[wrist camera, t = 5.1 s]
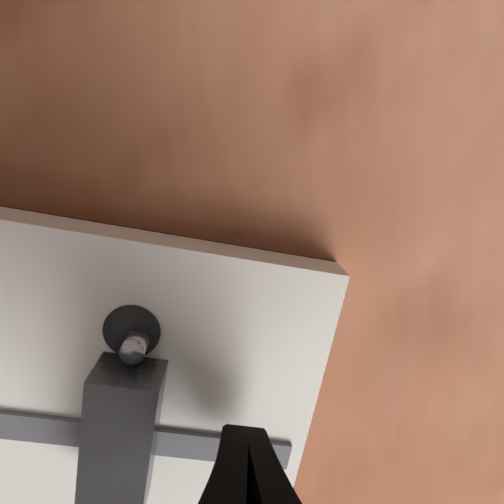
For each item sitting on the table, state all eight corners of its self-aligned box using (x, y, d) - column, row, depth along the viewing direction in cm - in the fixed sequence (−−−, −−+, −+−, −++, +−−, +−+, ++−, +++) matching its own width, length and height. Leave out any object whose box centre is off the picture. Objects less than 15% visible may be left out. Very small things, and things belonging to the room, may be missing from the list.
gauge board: (-184, 458, 14) (-237, 498, 13) (-226, 168, 12) (-301, 172, 10) (275, 502, 16) (280, 543, 15) (337, 262, 13) (351, 278, 12)
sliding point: (91, 479, 13) (72, 524, 11) (105, 324, 11) (85, 353, 10) (150, 485, 13) (139, 530, 12) (172, 334, 12) (162, 363, 10)
